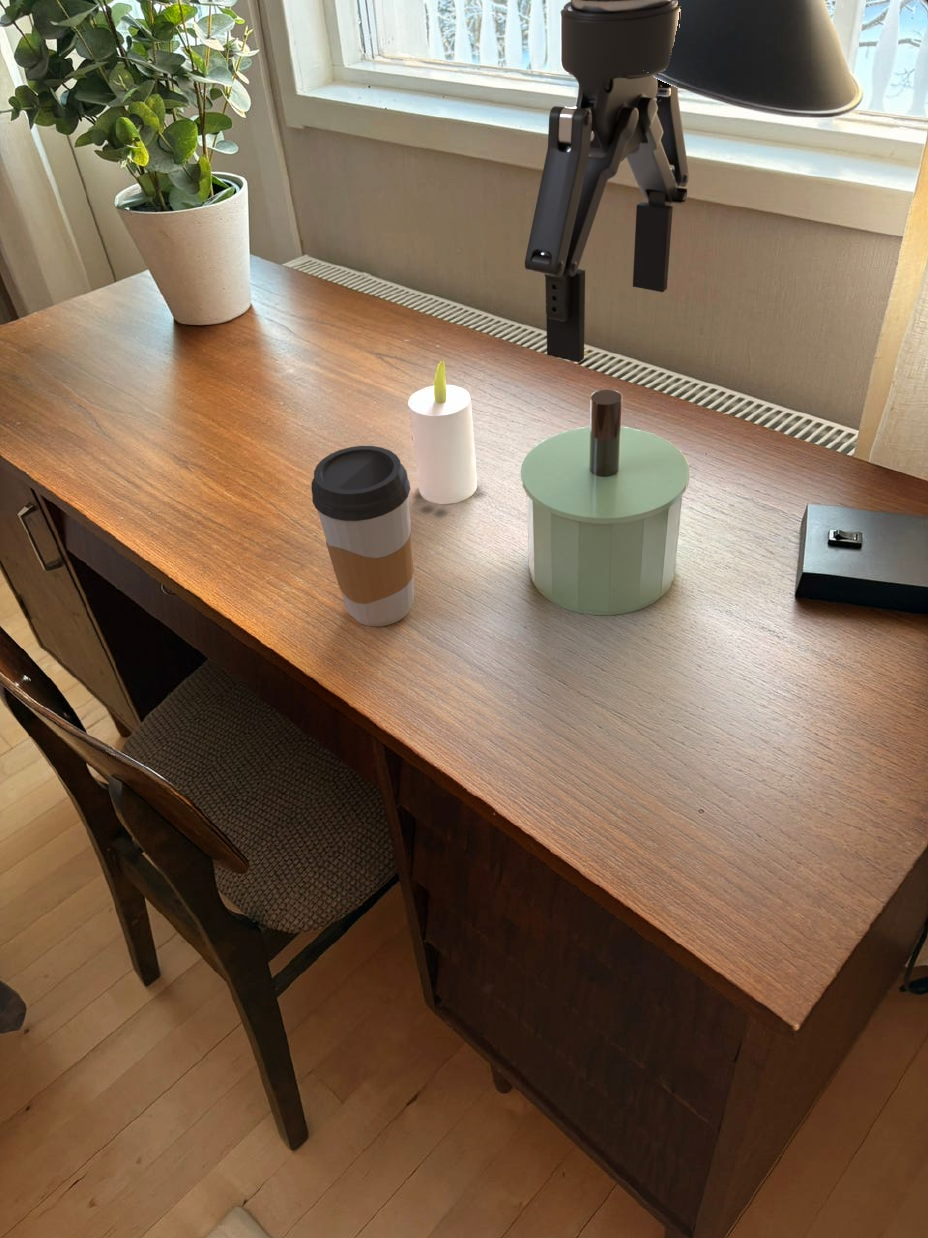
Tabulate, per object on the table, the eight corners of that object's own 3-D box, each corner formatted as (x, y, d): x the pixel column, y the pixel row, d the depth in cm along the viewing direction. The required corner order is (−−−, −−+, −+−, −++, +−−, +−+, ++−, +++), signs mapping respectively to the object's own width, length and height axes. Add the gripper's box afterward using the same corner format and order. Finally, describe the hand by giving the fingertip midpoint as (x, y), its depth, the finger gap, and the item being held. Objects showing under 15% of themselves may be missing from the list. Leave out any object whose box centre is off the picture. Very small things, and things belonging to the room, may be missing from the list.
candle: (435, 465, 105) (421, 339, 95) (487, 478, 102) (478, 349, 92) (406, 495, 101) (389, 367, 91) (459, 509, 98) (447, 378, 88)
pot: (698, 551, 90) (709, 457, 83) (632, 634, 83) (638, 538, 76) (575, 511, 97) (575, 421, 90) (502, 584, 89) (497, 492, 82)
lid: (716, 462, 84) (726, 378, 79) (640, 549, 75) (646, 462, 70) (573, 422, 91) (573, 342, 85) (489, 498, 82) (483, 415, 77)
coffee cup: (442, 591, 89) (426, 455, 79) (393, 646, 84) (369, 507, 74) (369, 568, 92) (346, 434, 82) (318, 619, 87) (286, 483, 77)
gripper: (655, -38, 68) (640, 255, 82) (457, 37, 54) (479, 378, 68) (755, -37, 65) (721, 270, 79) (572, 44, 50) (570, 402, 64)
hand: (609, 320), depth 73 cm, fingers open, 13 cm apart
